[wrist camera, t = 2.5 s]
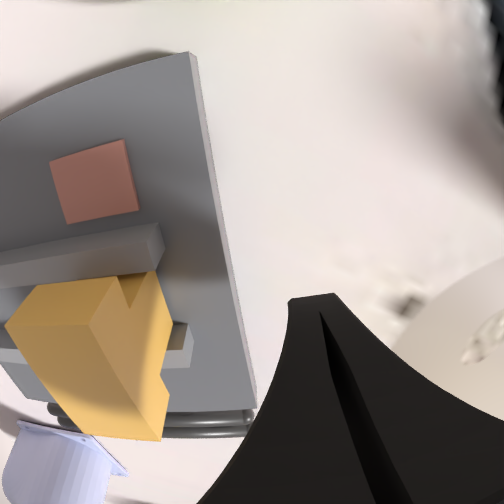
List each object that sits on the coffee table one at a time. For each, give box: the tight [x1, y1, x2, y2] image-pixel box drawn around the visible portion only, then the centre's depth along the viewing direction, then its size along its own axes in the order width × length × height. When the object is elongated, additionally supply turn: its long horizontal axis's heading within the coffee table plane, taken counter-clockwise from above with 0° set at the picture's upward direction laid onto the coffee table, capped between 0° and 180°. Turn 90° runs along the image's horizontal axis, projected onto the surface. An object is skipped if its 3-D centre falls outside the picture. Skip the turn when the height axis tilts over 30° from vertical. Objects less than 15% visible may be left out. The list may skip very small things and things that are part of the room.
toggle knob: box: [4, 271, 173, 442], centre depth 9 cm, size 3×5×5 cm, turn 8°
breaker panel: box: [0, 51, 257, 438], centre depth 13 cm, size 16×20×3 cm
